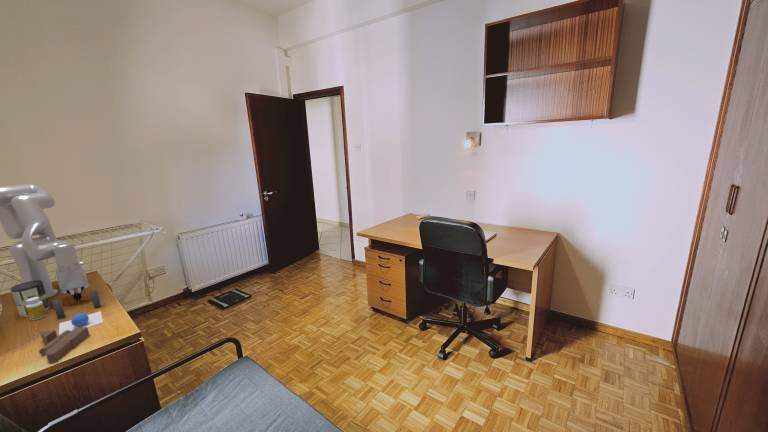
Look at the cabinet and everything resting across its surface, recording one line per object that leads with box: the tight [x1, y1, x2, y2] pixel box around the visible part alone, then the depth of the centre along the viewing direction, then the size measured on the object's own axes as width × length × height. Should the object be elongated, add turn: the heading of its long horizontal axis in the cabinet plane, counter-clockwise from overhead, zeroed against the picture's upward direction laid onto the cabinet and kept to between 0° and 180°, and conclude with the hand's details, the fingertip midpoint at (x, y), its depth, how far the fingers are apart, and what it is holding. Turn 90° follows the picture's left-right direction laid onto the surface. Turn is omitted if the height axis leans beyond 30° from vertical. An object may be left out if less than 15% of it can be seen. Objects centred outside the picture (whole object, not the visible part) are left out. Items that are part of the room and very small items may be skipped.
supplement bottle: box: [26, 297, 47, 321], centre depth 143 cm, size 5×5×10 cm
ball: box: [70, 312, 89, 327], centre depth 137 cm, size 6×6×6 cm
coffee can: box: [9, 280, 51, 317], centre depth 149 cm, size 10×10×14 cm
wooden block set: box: [38, 327, 90, 364], centre depth 120 cm, size 17×6×18 cm
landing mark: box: [58, 310, 104, 336], centre depth 139 cm, size 14×14×1 cm
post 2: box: [89, 289, 102, 309], centre depth 152 cm, size 3×3×9 cm
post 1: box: [51, 298, 66, 320], centre depth 143 cm, size 3×3×9 cm
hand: (78, 300), depth 157 cm, fingers closed
